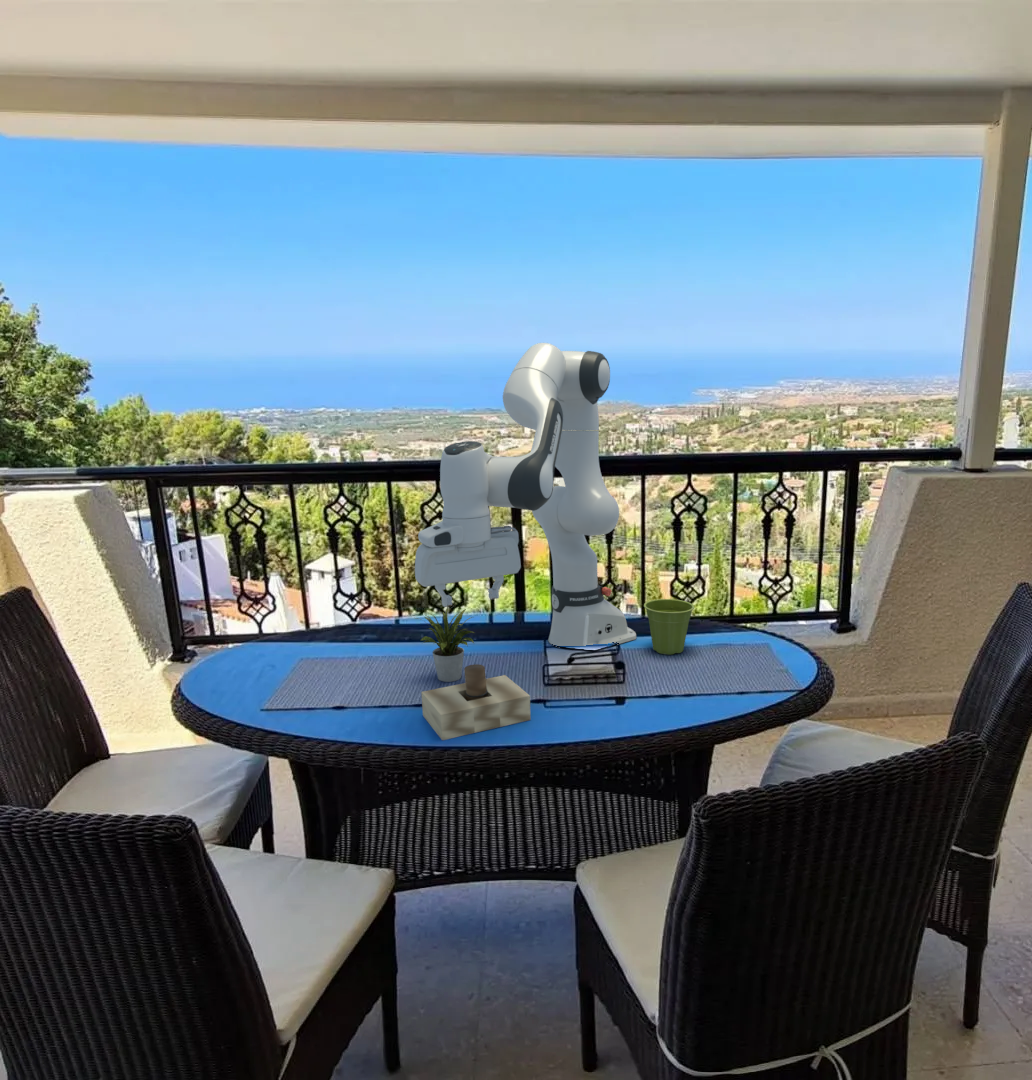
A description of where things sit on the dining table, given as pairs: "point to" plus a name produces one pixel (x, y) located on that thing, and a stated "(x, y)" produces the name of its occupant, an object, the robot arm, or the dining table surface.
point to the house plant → (448, 647)
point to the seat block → (475, 708)
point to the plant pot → (668, 624)
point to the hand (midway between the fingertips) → (470, 602)
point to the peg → (475, 682)
